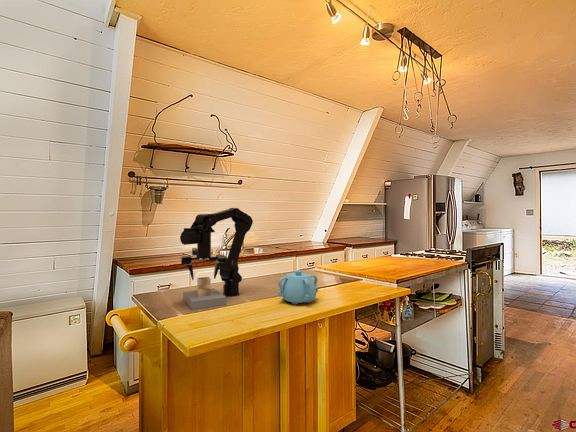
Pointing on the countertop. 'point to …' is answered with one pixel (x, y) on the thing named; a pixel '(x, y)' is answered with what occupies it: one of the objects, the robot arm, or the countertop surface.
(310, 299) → the decorative pot
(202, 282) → the beech block
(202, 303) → the grey riser
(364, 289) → the countertop surface
